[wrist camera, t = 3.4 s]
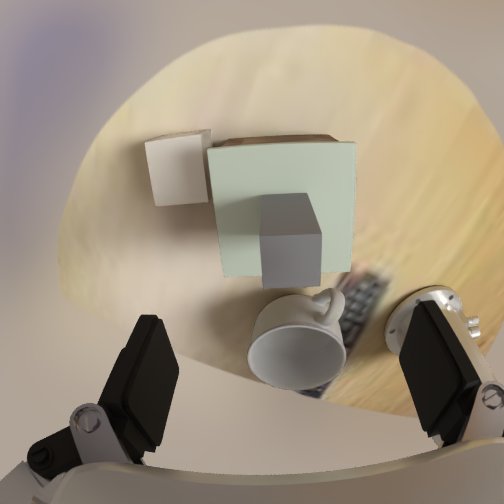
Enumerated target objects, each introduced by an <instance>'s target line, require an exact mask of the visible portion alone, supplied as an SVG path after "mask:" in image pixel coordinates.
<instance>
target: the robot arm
mask: <svg viewBox="0 0 504 504" xmlns="http://www.w3.org/2000/svg"><path fill="white" fill-rule="evenodd" d="M478 323H479V317H478V316H472V317H469V318H467V317H465V315H464V314H463V306H462V302H461V300H460V298H459V296H458V295H457V294H456V292H455V291H453V290H452V289H450V288H448V287H444V286H433V287H429V288H425V289H422V290H420V291H418V292H416V293H414V294H412V295H411V296H409V297H408V298H406V299H405V300H404V301H403V302H402V303H400V305H399V306H398V307H397V308H396V309H395V310H394V311H393V313H392V314H391V315H390V317H389V319H388V321H387V324H386V327H385V333H384V336H385V341H386V343H387V346H388V348H389V349H390V351H391V352H393V353H394V354H396V355H398V356H399V362H400V365H401V368H402V370H403V373H404V376H405V379H406V381H407V384H408V387H409V390H410V393H411V396H412V399H413V402H414V405H415V408H416V411H417V414H418V417H419V420H420V423H421V426H422V429H423V431H425V432H426V431H427V434H428V437H432V439H433V440H434V442H435V443H436V444H437V445H438V446H439V447H438V449H437V450H433V451H429V452H426V453H422V454H418V455H414V456H411V457H407V458H402V459H398V460H393V461H389V462H384V463H379V464H374V465H368V466H362V467H356V468H350V469H342V470H335V471H326V472H316V473H303V474H286V475H231V474H230V475H229V474H213V473H201V472H191V471H181V470H173V469H165V468H158V467H151V466H147V465H146V464H145V462H144V461H143V459H142V457H143V456H144V452H145V451H148V452H155V450H156V446H160V444H161V442H162V438H163V433H164V430H165V426H166V421H167V418H168V413H169V410H170V406H171V402H172V398H173V394H174V390H175V386H176V382H177V379H178V375H179V366H178V363H177V360H176V358H175V355H174V352H173V349H172V347H171V344H170V341H169V338H168V335H167V332H166V329H165V326H164V324H163V321H162V319H158V317H157V315H141V316H140V317H139V319H138V321H137V323H136V325H135V327H134V329H133V332H132V334H131V336H130V338H129V340H128V342H127V344H126V347H125V348H123V349H122V350H121V352H120V354H119V356H118V358H117V360H116V362H115V364H114V367H113V369H112V371H111V373H110V376H109V378H108V380H107V382H106V385H105V387H104V389H103V392H102V394H101V396H100V399H99V401H98V404H94V403H86V404H83V405H81V406H79V407H77V408H76V410H75V411H73V413H72V415H71V417H70V421H69V423H70V426H68V427H66V428H64V429H62V430H60V431H58V432H56V433H55V434H52V435H50V436H48V437H46V438H44V439H42V440H40V441H38V442H36V443H35V444H33V445H32V446H31V447H30V449H29V451H28V454H27V462H26V463H25V462H24V461H22V462H21V463H20V464H18V465H17V466H16V467H15V468H14V469H13V470H12V471H11V472H10V473H9V474H8V475H6V476H5V477H4V478H3V479H2V480H1V481H0V504H504V386H503V385H502V384H500V383H498V382H497V380H496V378H495V376H494V374H493V372H492V370H491V369H490V367H489V365H488V363H487V361H486V360H485V358H484V356H483V354H482V353H481V351H480V349H479V348H478V346H477V344H476V343H475V341H474V339H476V338H478V337H479V336H480V329H479V327H478V326H474V325H478ZM468 326H473V327H468Z"/></svg>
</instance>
